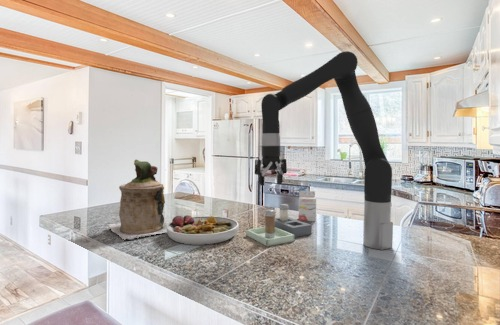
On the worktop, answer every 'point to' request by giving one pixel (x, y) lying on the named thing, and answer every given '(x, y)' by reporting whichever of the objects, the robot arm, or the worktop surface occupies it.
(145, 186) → the cookie jar
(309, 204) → the ink cartridge box
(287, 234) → the parts tray
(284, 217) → the fuse
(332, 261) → the worktop surface
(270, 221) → the cylinder
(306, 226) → the block
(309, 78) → the robot arm
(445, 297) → the worktop surface
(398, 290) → the worktop surface
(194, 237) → the bowl
